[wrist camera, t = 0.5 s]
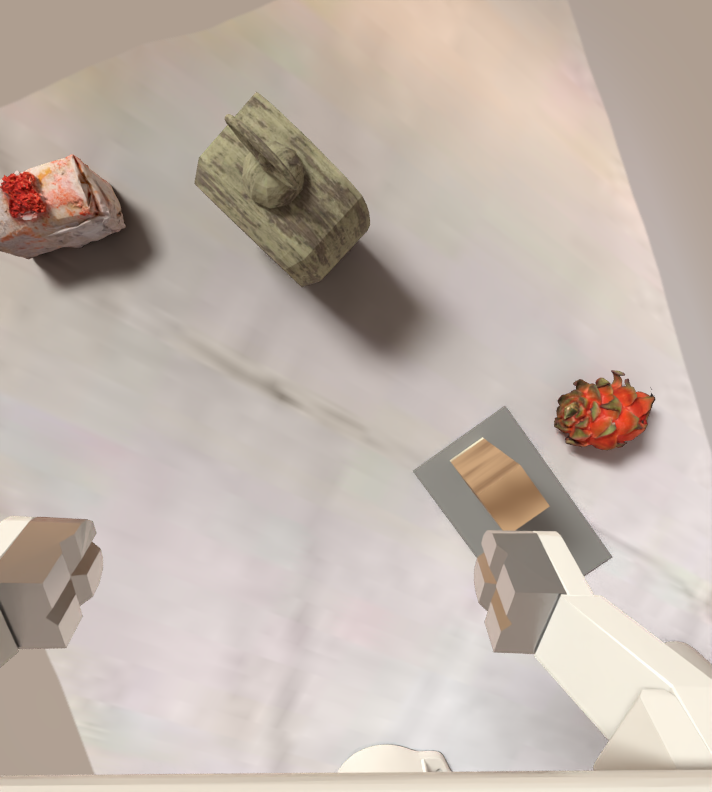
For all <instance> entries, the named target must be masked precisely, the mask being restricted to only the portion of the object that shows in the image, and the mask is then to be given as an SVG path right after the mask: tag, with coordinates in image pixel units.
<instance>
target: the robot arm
mask: <svg viewBox="0 0 712 792" xmlns="http://www.w3.org/2000/svg"><path fill="white" fill-rule="evenodd" d="M95 535H96V530H95V527H94V524H93V521H91V520H87V519H70V518H51V517H22V516H10V517H8V518H6V519H4V520H3V521H2V522H1V523H0V668H1V667H2V666H3V665H4V664H5V663H6V662H8V661H9V660H10V659H11V658H12V657H13V656H14V655H16V654H17V653H18V652H19V650H18V649H41V648H42V649H48V648H67V646H68V644H69V642H70V640H71V638H72V636H73V634H74V632H75V630H76V629H77V627H78V625H79V623H80V621H81V619H82V617H83V615H82V612H81V609H80V606H81V605H82V604H83V603H85V602H86V601H88V600H89V599H90V598H92V597H93V596H94V593H95V591H96V589H97V587H98V585H99V583H100V579H101V575H102V571H103V556H102V552H101V549H100V548H99V547H98V546H97V545H95V544H94V543H93V542H92V540H93V539H94V537H95ZM481 544H482V547H483V550H484V553H482V554H481V555H480V556H479V557H477V560H476V564H475V568H474V585H475V592H476V595H477V599H478V602H479V604H480V605H481V606H482V607H483V608H484V609H486V610H487V611H488V612H487V615H486V619H485V622H484V623H485V626H486V629H487V632H488V635H489V639H490V642H491V645H492V648H493V652H497V653H523V654H535V657H536V659H537V660H538V661H539V662H540V663H541V664H542V665H543V667H544V668H545V669H546V670H547V671H548V672H549V673H550V674H551V676H552V677H553V678H554V679H555V680H556V681H557V682H558V684H559V685H560V686H561V687H562V688H563V689H564V690H565V692H566V693H567V694H568V695H569V696H570V697H571V698H572V700H573V701H574V702H575V703H576V704H577V705H578V706H579V707H580V709H581V710H582V711H583V712H584V713H585V714H586V715H587V717H588V718H589V719H590V720H591V721H592V722H593V723H594V725H595V726H596V727H597V728H598V729H599V730H600V731H601V732H602V734H603V735H604V736H605V737H606V738H607V739H608V740H609V741H608V743H607V745H606V746H605V748H604V749H603V751H602V752H601V754H600V755H599V757H598V758H597V760H596V762H595V764H594V766H593V769H594V771H481V772H451V771H450V769H449V767H448V765H447V763H446V761H445V759H444V757H443V755H442V754H441V753H439V752H437V751H414V750H411V749H408V748H405V747H401V746H397V745H376V746H371V747H368V748H365V749H363V750H360V751H359V752H357V753H355V754H354V755H352V756H351V757H350V758H349V759H347V760H346V761H345V762H344V764H343V765H342V766H341V768H340V769H339V771H338V773H231V774H121V775H16V776H15V775H14V776H13V775H12V776H0V792H712V679H711V678H709V677H708V676H707V675H705V674H704V673H703V672H701V671H700V670H699V669H697V668H696V667H695V666H693V665H692V664H691V663H690V662H688V661H687V660H686V659H684V658H683V657H682V656H680V655H679V654H678V653H676V652H675V651H674V650H672V649H671V648H670V647H668V646H667V645H666V644H665V643H663V642H662V641H661V640H659V639H658V638H657V637H655V636H654V635H653V634H651V633H650V632H649V631H647V630H646V629H645V628H643V627H642V626H641V625H640V624H638V623H637V622H636V621H634V620H633V619H632V618H630V617H629V616H628V615H626V614H625V613H624V612H622V611H621V610H620V609H618V608H617V607H616V606H615V605H613V604H612V603H611V602H609V601H608V600H607V599H605V598H604V597H603V596H599V595H594V594H593V592H592V590H591V588H590V587H589V585H588V583H587V581H586V579H585V578H584V576H583V574H582V572H581V571H580V569H579V567H578V565H577V563H576V562H575V560H574V558H573V556H572V554H571V553H570V551H569V549H568V547H567V546H566V544H565V542H564V540H563V538H562V537H561V535H560V534H559V533H557V532H556V531H503V530H487V531H486V532H485V534H484V535H483V539H482V542H481ZM437 769H439V770H437Z"/></svg>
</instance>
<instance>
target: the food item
mask: <svg viewBox="0 0 712 792" xmlns="http://www.w3.org/2000/svg"><path fill="white" fill-rule="evenodd" d="M125 227H126V226H125V224H124V220H123V214H122V213H121V206H120V203H119V201H118V199H117V197H116V195H115V193H114V191H113V189H112V186H111V185H110V184H109V183H108V182H107V181H105V180H104V179H102V178H101V177H100V176H99V175H97V174H96V173H95V172H93V171H92V170H90V169H89V167H88V165H86V164H84V163H83V162H82V161H81V160H80V159H79V158H78V157H76V156H74V155H73V154H72V155H70V156H67V157H66V158H63V159H59V160H55V161H53V162H49V163H46V164H42V165H39V166H36V167H33V168H31V169H28V170H26V171H24V172H21V173H20V172H19V171H15V173H13V174H11V175H10V176H8V177H7V176H5V175H4V178H2V179H1V180H0V251H2V252H5V253H10V254H12V255H15V256H19V257H24V258H26V259H30V258H33V257H36V256H38V255H40V254H43V253H46V252H51V251H54V250H57V249H59V248H61V247H73V248H81V247H83V245H86V244H88V243H90V242H91V241H99V239H103V238H104V237H106V236H108V235H110V234H112V233H115V232H119V231H120V230H121V229H125Z"/></svg>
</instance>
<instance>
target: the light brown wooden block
mask: <svg viewBox="0 0 712 792" xmlns="http://www.w3.org/2000/svg"><path fill="white" fill-rule="evenodd" d="M450 462H451V463H452V464H453V466H454V467H455V469H456V470H457V471H458V473H459V474H460V475H461V477H462V478H463V480H464V481H465V482H466V484H467V485H468V486H469V488H470V489H471V491H472V492H473V493H474V494H475V496H476V497H477V498H478V500H479V501H480V502H481V503H482V505H483V506H484V507H485V509H486V510H487V511H488V512H489V514H490V515H491V516H492V518H493V519H494V520H495V521H496V523H497V524H498V525H499V526H500V528H501V529H502V530H503V531H515V530H516V529H518V528H519V527H521V526H522V525H524V524H525V523H527V522H528V521H529V520H531V519H532V518H534V517H535V516H537V515H538V514H540V513H541V512H543V511H544V510H545V509H547V508H548V507H550V506H549V504H548V503H547V502H546V500H545V499H544V497H543V496H542V495H541V493H540V492H539V490H538V489H537V488H536V486H535V485H534V483H533V482H532V481H531V479H530V478H529V476H528V475H527V474H526V472H525V471H524V469H523V468H522V467H521V465H520V464H518V463H517V462H515V461H514V460H513V459H511V458H510V457H509V456H507V455H506V454H505V453H503V452H502V451H501V450H499V449H498V448H496V447H495V446H494V445H492V444H491V443H490V442H488V441H487V440H486V439H484V438H483V437H482V438H481V439H479V440H478V441H476V442H475V443H474V444H472V445H471V446H469V447H468V448H467V449H465V450H464V451H462V452H461V453H460V454H458V455H457V456H455V457H454V458H452V459H451V460H450Z"/></svg>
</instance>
